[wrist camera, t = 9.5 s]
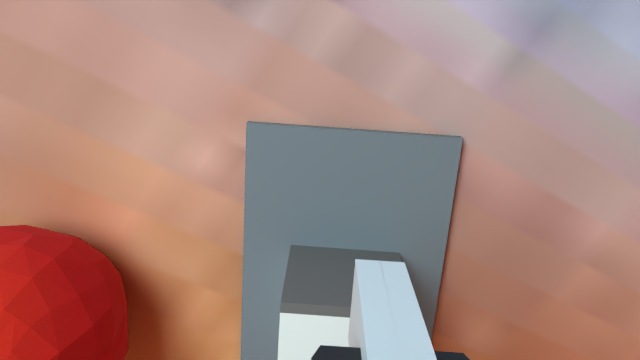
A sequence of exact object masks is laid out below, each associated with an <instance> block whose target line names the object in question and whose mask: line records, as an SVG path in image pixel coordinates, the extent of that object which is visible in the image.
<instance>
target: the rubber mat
mask: <svg viewBox="0 0 640 360" xmlns="http://www.w3.org/2000/svg"><path fill="white" fill-rule="evenodd" d="M462 142H463V138H462V137H460V136H448V135H433V134H419V133H405V132H391V131H377V130H363V129H349V128H335V127H321V126H307V125H293V124H279V123H265V122H251V121H248V122H247V130H246V170H245V209H244V249H243V289H242V328H241V360H278V341H279V322H280V303H281V297H282V291H283V286H284V280H285V275H286V269H287V263H288V258H289V252H290V247H291V245H300V246H314V247H328V248H342V249H356V250H370V251H384V252H398V253H399V254H400V257H401V260H402V262H405V265H406V268H407V271H408V274H409V277H410V280H411V283H412V286H413V289H414V292H415V295H416V298H417V301H418V304H419V307H420V310H421V313H422V316H423V319H424V322H425V325H426V328H427V331H428V334H429V337H430V340H431V339H432V333H433V326H434V320H435V314H436V307H437V301H438V294H439V288H440V282H441V275H442V269H443V263H444V256H445V250H446V243H447V237H448V231H449V224H450V218H451V212H452V205H453V199H454V193H455V186H456V180H457V173H458V167H459V161H460V154H461V148H462Z"/></svg>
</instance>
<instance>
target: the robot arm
mask: <svg viewBox="0 0 640 360" xmlns="http://www.w3.org/2000/svg"><path fill="white" fill-rule="evenodd" d="M348 342H349V347H341V346H326V345H320V346H319V348H318V349H317V351H316V352H315V353H314V355H313V356H312V358H311V360H469V359H468V358H467V357H466V356H465V355H464V354H463V353H454V352H439V351H434V349H433V346H432V343H431V340H430V337H429V334H428V331H427V328H426V325H425V322H424V319H423V316H422V313H421V310H420V307H419V304H418V301H417V298H416V295H415V292H414V289H413V286H412V283H411V280H410V277H409V274H408V271H407V268H406V265H405V262H391V261H376V260H361V259H355V269H354V280H353V290H352V301H351V312H350V322H349V333H348Z"/></svg>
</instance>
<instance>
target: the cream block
mask: <svg viewBox="0 0 640 360" xmlns="http://www.w3.org/2000/svg"><path fill="white" fill-rule="evenodd" d="M355 259H361V260H376V261H391V262H402V260H401V257H400V254H399V253H398V252H384V251H370V250H356V249H342V248H328V247H314V246H300V245H291V247H290V252H289V258H288V263H287V269H286V275H285V280H284V286H283V291H282V297H281V303H280V322H279V341H278V360H311V358H312V356H313V355H314V353H315V352H316V351H317V349H318V348H319V346H320V345H326V346H341V347H349V342H348V333H349V322H350V312H351V301H352V290H353V280H354V269H355Z"/></svg>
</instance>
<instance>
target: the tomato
mask: <svg viewBox="0 0 640 360" xmlns="http://www.w3.org/2000/svg"><path fill="white" fill-rule="evenodd" d="M127 350H128V309H127V300H126V295H125V291H124V286H123V281H122V277H121V275H120V273H119V272H118V271H117V269H116V268H115V267H114V265H113V264H112V263H111V261H110V260H109V259H108V257H107V256H105V255H104V254H102V253H101V252H99V251H98V250H97V249H95V248H94V247H92V246H91V245H89V244H88V243H86V242H85V241H83V240H82V239H80V238H78V237H74V236H70V235H66V234H62V233H58V232H54V231H50V230H46V229H41V228H36V227H32V226H27V225H19V226H0V360H124V358H125V355H126V353H127Z"/></svg>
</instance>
